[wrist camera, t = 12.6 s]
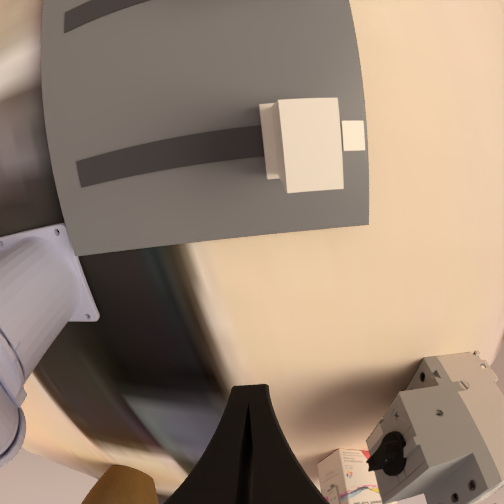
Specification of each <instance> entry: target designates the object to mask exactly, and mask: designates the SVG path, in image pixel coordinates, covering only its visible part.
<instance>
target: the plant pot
mask: <svg viewBox="0 0 504 504" xmlns="http://www.w3.org/2000/svg"><path fill="white" fill-rule="evenodd" d="M82 504H159V503H158V498H157V493H156V489H155V485H154V481H153V479H152V478H151V477H150V476H148V475H147V474H145V473H143V472H141V471H138V470H136V469H133V468H130V467H126V466H120V465H113V466H111V467H110V468H109V469H108V470H107V471H106V472H105V473H104V475H103V476H102V477H101V478H100V479H99V480H98V482H97V483H96V484H95V485H94V487H93V488H92V489H91V490H90V492H89V493H88V495H87V496H86V497H85V499H84V501H83V502H82Z"/></svg>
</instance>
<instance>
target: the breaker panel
mask: <svg viewBox="0 0 504 504" xmlns="http://www.w3.org/2000/svg"><path fill="white" fill-rule="evenodd" d="M41 82H42V97H43V108H44V118H45V126H46V134H47V141H48V147H49V153H50V159H51V164H52V169H53V174H54V179H55V184H56V188H57V193H58V197H59V201H60V205H61V209H62V213H63V217H64V221H65V224H66V228H67V231H68V235H69V238H70V241H71V244H72V248H73V251H74V254H75V256H83V255H91V254H99V253H107V252H115V251H123V250H131V249H139V248H148V247H156V246H165V245H174V244H182V243H191V242H200V241H209V240H218V239H228V238H237V237H247V236H256V235H266V234H276V233H286V232H296V231H306V230H317V229H327V228H338V227H349V226H360V225H369V163H368V140H367V124H366V111H365V100H364V90H363V82H362V73H361V66H360V59H359V52H358V46H357V40H356V34H355V28H354V23H353V18H352V13H351V8H350V3H349V0H43V9H42V23H41ZM301 98H338V106H339V117H340V129H341V143H342V160H343V182H344V189H334V190H320V191H308V192H296V193H287V192H286V190H285V188H284V186H283V184H282V182H281V180H280V178H278V179H267V174H266V165H265V155H264V146H263V137H262V128H261V119H260V111H259V104H266V103H275V102H276V101H277V100H283V99H301Z"/></svg>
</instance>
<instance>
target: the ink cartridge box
mask: <svg viewBox="0 0 504 504" xmlns="http://www.w3.org/2000/svg"><path fill="white" fill-rule="evenodd" d="M369 457H370V454H369V451H359V450H348V449H337V450H336V451H335V452H333V453H332V454H331V455H329V456H328V457H327V458H325V459H324V460H322V461H321V462H319V463H318V472H319V479H320V487H321V494H322V495H323V496H324V498H325V499H326V500H327V501H328V502H329V503H330V504H382V500H381V497H380V493H379V489H378V485H377V481H376V477H375V473H374V471H370V472H368V469H369V465H368V463H366V461H367V460H368V459H369ZM388 504H397V501H395V502H392V503H388Z"/></svg>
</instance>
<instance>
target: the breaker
mask: <svg viewBox="0 0 504 504" xmlns="http://www.w3.org/2000/svg"><path fill="white" fill-rule="evenodd" d="M259 111H260V119H261V128H262V137H263V146H264V155H265V165H266V174H267V179H278V178H280V180H281V182H282V184H283V186H284V188H285V190H286V192H287V193H296V192H308V191H320V190H334V189H344V182H343V160H342V143H341V129H340V117H339V106H338V98H301V99H283V100H277V101H276V102H275V103H266V104H259Z"/></svg>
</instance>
